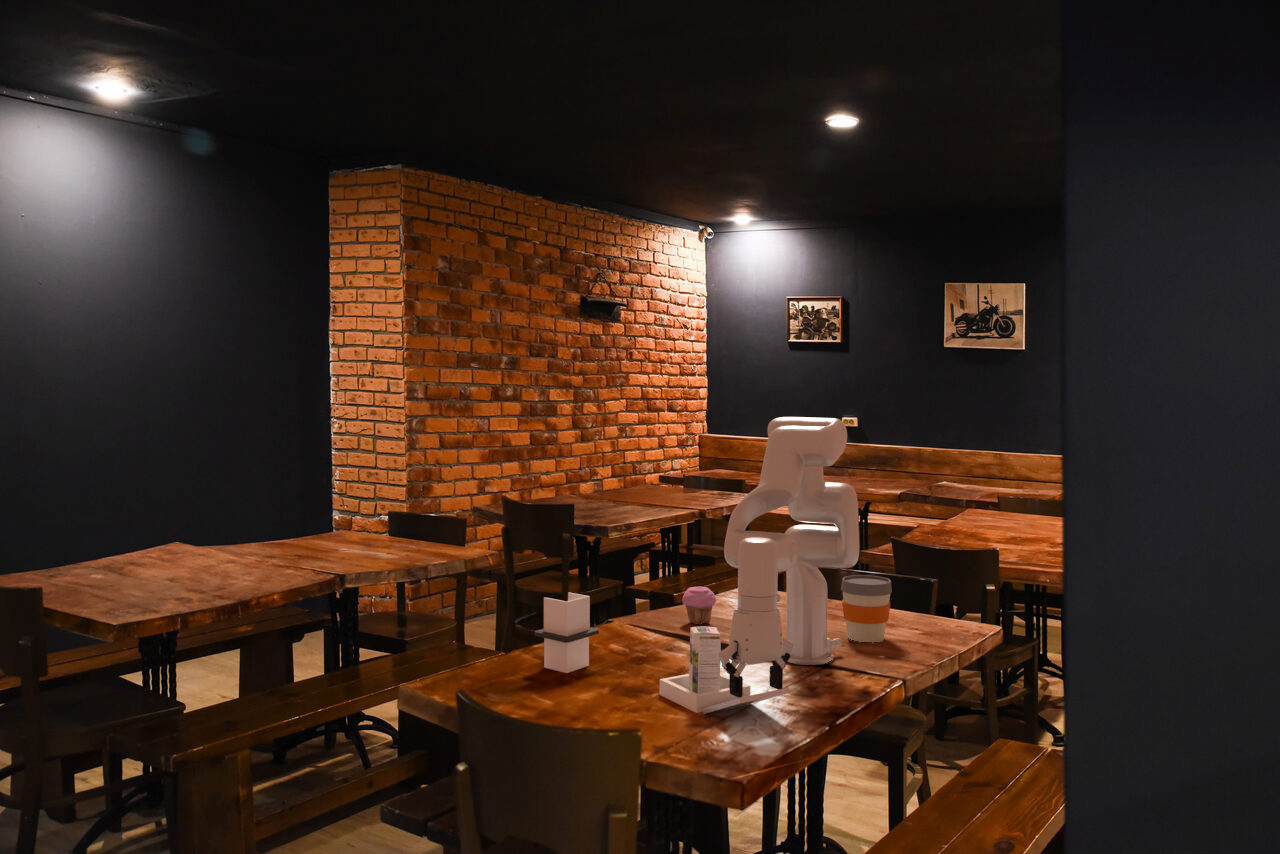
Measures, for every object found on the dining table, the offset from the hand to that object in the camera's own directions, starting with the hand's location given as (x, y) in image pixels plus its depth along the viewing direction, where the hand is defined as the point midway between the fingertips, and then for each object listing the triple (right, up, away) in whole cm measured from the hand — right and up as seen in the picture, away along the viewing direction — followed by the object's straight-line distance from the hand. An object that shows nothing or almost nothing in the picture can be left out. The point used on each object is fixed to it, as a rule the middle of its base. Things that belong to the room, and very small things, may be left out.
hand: (756, 691), depth 196 cm
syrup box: (-9, -6, +16) cm, 19 cm away
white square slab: (-2, -3, +3) cm, 5 cm away
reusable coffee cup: (+35, -3, +64) cm, 73 cm away
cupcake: (-6, -2, +79) cm, 80 cm away
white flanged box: (-39, -5, +39) cm, 55 cm away
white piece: (-9, -6, +15) cm, 19 cm away
